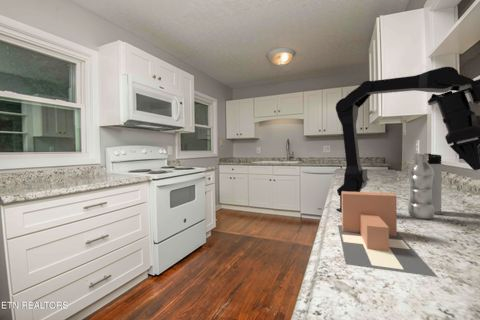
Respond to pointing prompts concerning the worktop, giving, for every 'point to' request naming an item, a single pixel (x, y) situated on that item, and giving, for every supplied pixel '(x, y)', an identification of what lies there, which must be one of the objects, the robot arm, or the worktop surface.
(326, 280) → the worktop surface
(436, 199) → the travel mug
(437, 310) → the worktop surface
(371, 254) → the mat
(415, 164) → the plastic bottle
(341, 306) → the worktop surface
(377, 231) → the t block
